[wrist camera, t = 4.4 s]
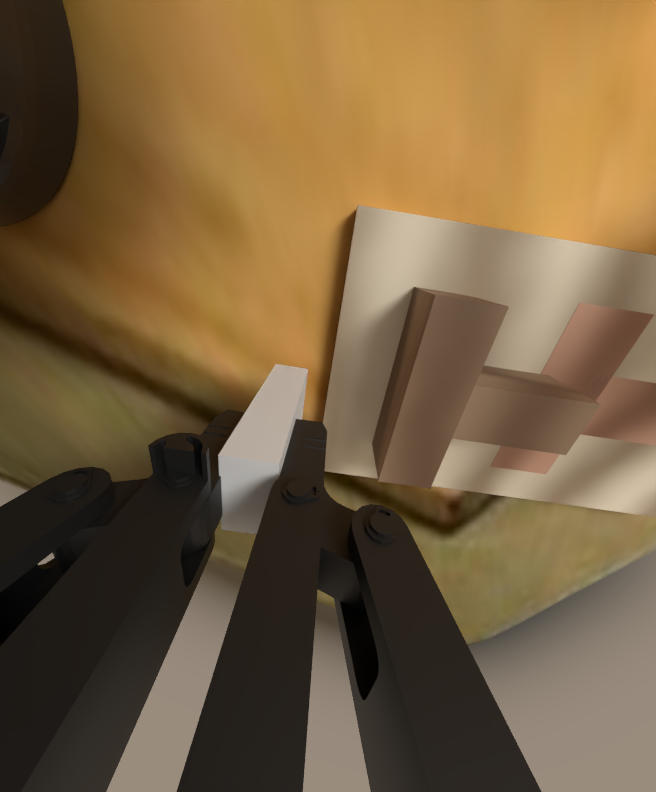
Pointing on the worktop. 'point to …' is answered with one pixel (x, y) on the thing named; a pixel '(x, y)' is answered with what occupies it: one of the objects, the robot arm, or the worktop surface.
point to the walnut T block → (464, 392)
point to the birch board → (508, 352)
